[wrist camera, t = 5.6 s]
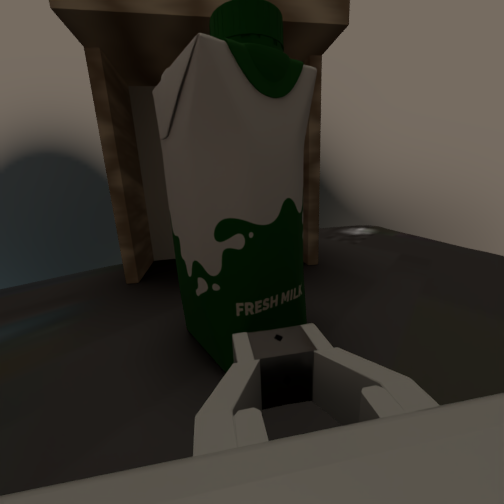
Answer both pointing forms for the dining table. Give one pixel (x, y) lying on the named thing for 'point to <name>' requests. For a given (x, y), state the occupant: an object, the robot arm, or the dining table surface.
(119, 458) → the dining table surface
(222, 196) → the milk carton
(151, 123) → the wooden shelf
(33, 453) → the dining table surface
